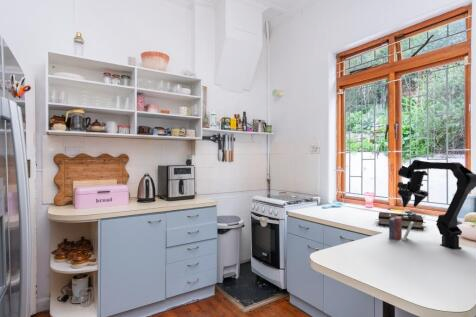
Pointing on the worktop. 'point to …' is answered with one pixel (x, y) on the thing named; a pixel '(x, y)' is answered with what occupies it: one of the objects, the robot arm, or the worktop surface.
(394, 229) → the book row
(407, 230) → the bookend
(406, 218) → the decorative book
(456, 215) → the robot arm
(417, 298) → the worktop surface
